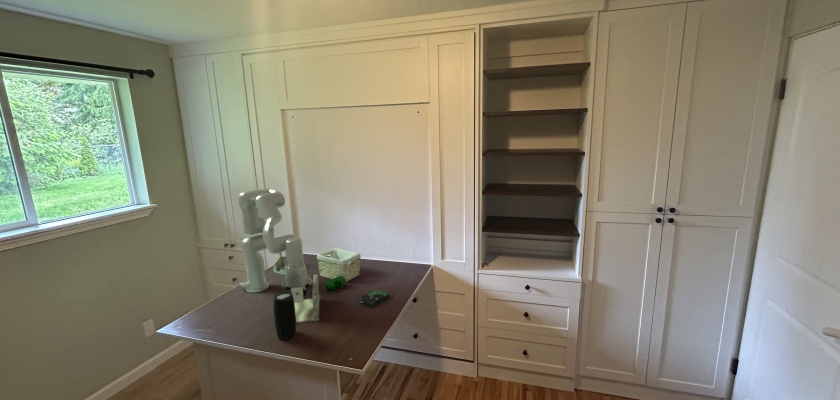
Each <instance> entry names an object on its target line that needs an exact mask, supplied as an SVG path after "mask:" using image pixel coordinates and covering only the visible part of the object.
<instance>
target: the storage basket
mask: <svg viewBox="0 0 840 400" xmlns="http://www.w3.org/2000/svg"><path fill="white" fill-rule="evenodd" d="M361 257H362V256H361V253H359V252H356V251H351V250H346V249H341V248H338V247H333V248H331V249H327V250H325V251H323V252H320V253H317V256H316V259H317V263H318V271H319V275H320V276H321V277H322V278H326V279H329V280H330V279H333V278H336V277H339V276H343V277H344V278H345V279H346V282H348V281H350V280H352V279H354V278H356V277H357V276H359V275H360V266H361V265H360V264H361V263H360V262H361Z"/></svg>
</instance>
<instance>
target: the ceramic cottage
mask: <svg viewBox="0 0 840 400" xmlns="http://www.w3.org/2000/svg"><path fill="white" fill-rule="evenodd" d="M284 254H285V256H283V255H282V252H280V253H278V256H277V258H276V259H275V260H274V261H273V265H274V266H273V268H272V269H273V270H272V272H273V271H274V272H275V274H278V273H279V274H280V275H283V274H284V275H285V271H286V266H287V265H286V264H285V265H284V262H286V261H287V255H286V251H284ZM274 272H273V273H274ZM284 275H283V276H284Z"/></svg>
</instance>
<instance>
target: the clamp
mask: <svg viewBox="0 0 840 400" xmlns="http://www.w3.org/2000/svg"><path fill="white" fill-rule="evenodd" d="M346 284H347V281H346V279H345V278H344V277H343V276H339V277H336V278H333V279H330V278H329V279H328V280H325V281H324V289H325V290H326V291H327V292H328V291H330V290H331V291H333V292H334V293H335V292H336V288H340V289H342V290H343V288H344V287H343V286H344V285H346Z"/></svg>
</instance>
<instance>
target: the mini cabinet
mask: <svg viewBox="0 0 840 400" xmlns="http://www.w3.org/2000/svg"><path fill="white" fill-rule="evenodd" d="M291 292H292V294H293V299H294V303H298V302H303V301H304V300H305V298H304V296H303V286H295V287H292V289H291Z"/></svg>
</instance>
